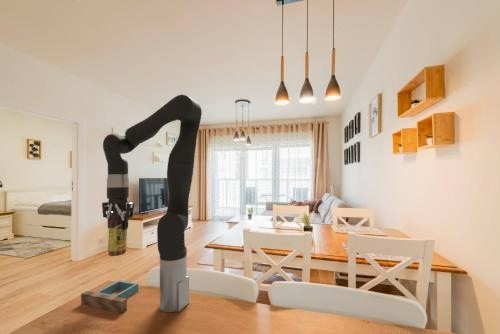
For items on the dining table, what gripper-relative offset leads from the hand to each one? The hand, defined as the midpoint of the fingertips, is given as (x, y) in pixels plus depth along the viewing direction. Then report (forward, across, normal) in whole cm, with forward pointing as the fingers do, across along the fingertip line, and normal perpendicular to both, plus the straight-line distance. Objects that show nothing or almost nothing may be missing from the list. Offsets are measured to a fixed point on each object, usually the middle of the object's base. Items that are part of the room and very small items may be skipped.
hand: (117, 229), depth 91 cm
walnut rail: (+26, -2, +8) cm, 27 cm away
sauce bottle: (+10, 0, 0) cm, 10 cm away
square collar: (+26, 0, 0) cm, 26 cm away
